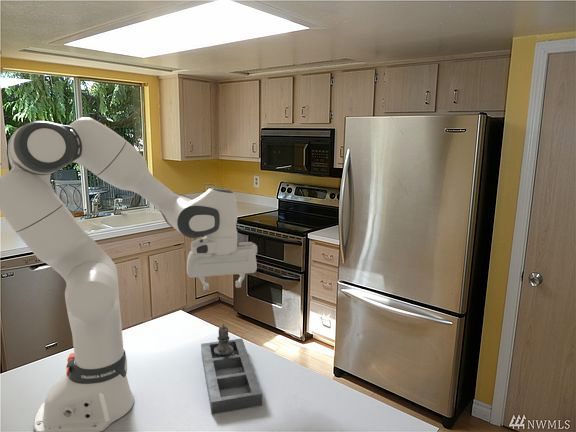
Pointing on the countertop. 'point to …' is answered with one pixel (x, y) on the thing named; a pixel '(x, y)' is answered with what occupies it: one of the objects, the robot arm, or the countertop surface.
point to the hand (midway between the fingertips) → (222, 288)
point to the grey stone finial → (223, 343)
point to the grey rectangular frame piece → (230, 378)
